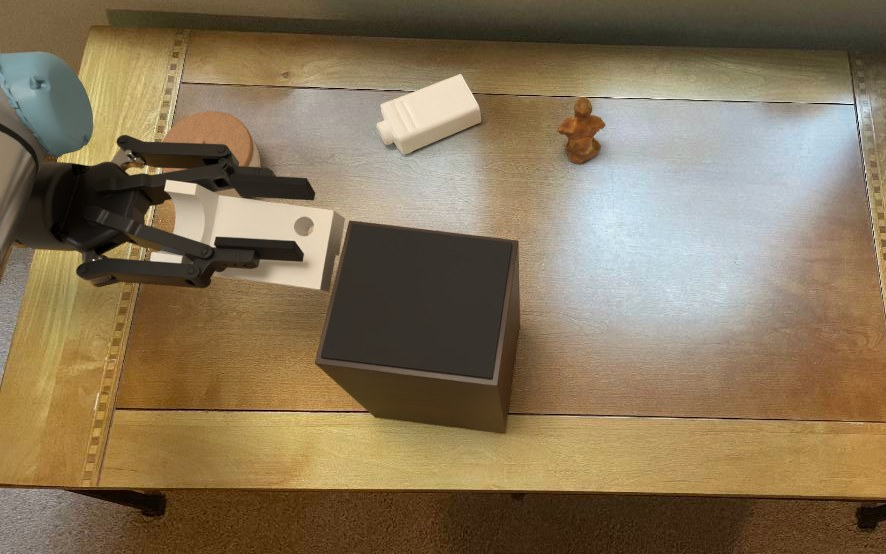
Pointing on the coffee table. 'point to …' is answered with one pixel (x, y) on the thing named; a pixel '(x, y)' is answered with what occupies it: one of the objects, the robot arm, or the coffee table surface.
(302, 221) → the bracket
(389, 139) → the white bottle
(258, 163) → the trinket box
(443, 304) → the black pad
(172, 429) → the coffee table surface
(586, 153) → the figurine
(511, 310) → the walnut stand
